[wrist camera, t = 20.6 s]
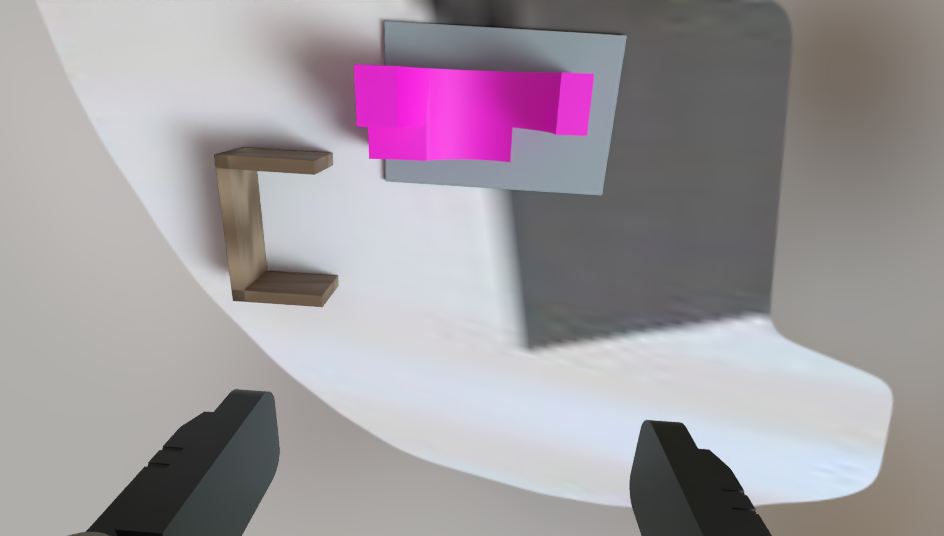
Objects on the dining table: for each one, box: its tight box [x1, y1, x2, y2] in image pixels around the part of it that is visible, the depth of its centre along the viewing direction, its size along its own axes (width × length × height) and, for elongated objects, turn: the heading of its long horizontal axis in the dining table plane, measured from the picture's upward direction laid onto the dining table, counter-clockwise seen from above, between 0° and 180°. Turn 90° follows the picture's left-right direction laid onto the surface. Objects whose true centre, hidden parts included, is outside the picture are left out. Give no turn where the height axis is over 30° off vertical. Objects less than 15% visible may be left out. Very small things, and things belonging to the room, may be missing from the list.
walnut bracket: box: [214, 147, 338, 307], centre depth 41 cm, size 12×8×4 cm, turn 177°
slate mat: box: [385, 21, 627, 195], centre depth 39 cm, size 12×18×1 cm, turn 87°
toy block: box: [354, 65, 594, 162], centre depth 35 cm, size 15×6×8 cm, turn 88°
